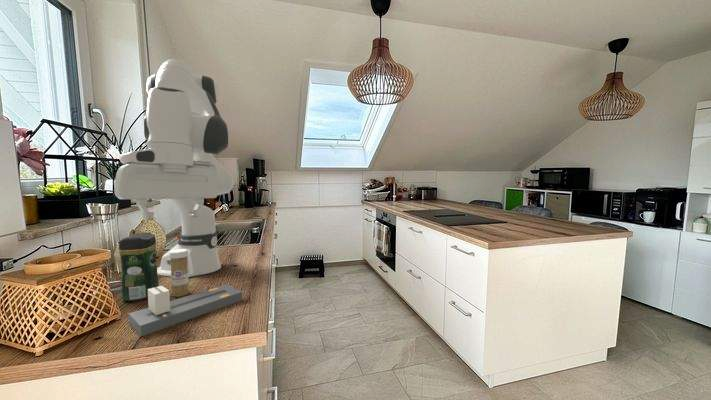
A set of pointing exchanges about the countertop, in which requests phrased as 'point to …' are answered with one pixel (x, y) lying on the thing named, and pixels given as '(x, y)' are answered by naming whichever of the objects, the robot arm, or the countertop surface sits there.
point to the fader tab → (158, 300)
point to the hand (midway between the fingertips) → (172, 218)
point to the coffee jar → (138, 266)
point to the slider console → (184, 309)
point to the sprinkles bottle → (179, 272)
